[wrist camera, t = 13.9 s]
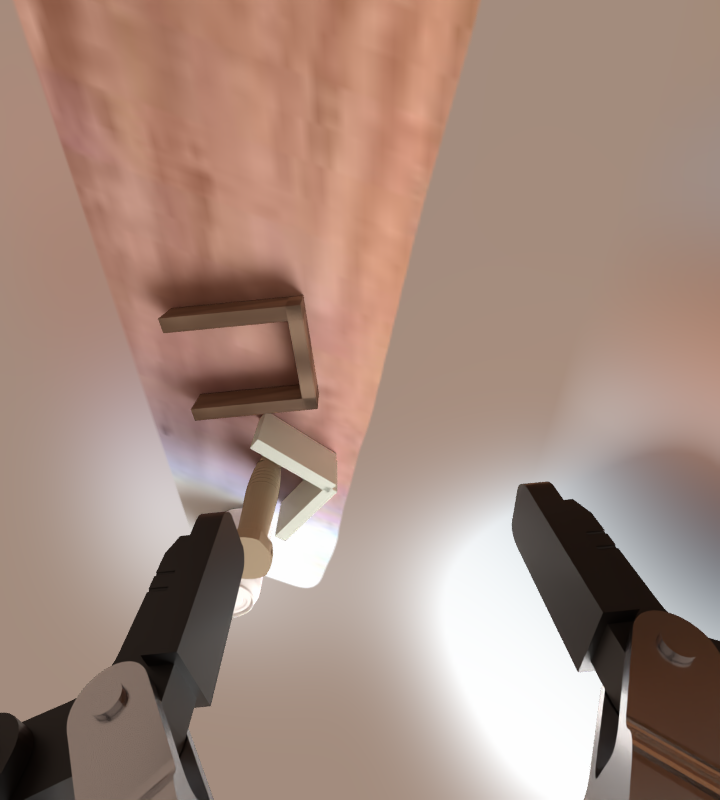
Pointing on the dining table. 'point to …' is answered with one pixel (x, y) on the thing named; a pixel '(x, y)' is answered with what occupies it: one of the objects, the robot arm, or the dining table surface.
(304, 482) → the cream l-shaped bracket
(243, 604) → the beverage can
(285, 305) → the u-shaped bracket
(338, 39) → the dining table surface
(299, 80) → the dining table surface
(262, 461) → the handle
